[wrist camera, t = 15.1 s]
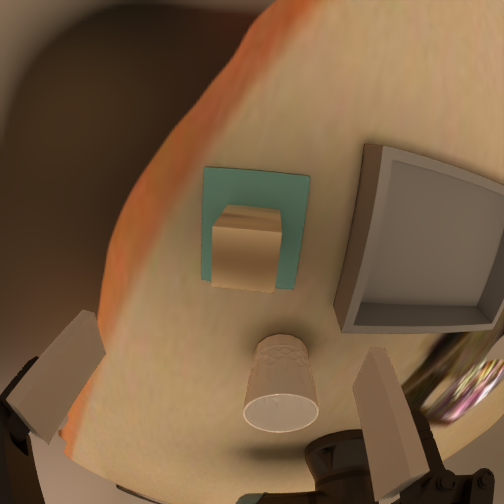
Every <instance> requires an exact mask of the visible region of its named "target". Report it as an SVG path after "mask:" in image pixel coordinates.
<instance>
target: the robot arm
mask: <svg viewBox="0 0 504 504" xmlns="http://www.w3.org/2000/svg"><path fill="white" fill-rule="evenodd" d="M105 354H106V352H105V349H104V346H103V343H102V339H101V336H100V332H99V329H98V325H97V321H96V318H95V314H94V313H92V312H89V311H85V310H82V311H81V312H80V313H79V314H78V315H77V317H76V318H75V319H74V320H73V321H72V322H71V323H70V324H69V325H68V326H67V327H66V328H65V329H64V330H63V331H62V333H61V334H60V335H59V336H58V337H57V338H56V339H55V340H54V341H53V343H52V344H51V345H50V346H49V347H48V348H47V349H46V351H45V352H44V353H43V354H42V355H41V356H40V357H37V356H36V357H34V358H33V359H31V360H29V361H28V362H27V363H26V364H25V365H24V367H23V368H22V370H20V371H19V373H18V374H17V376H16V377H14V379H13V380H12V381H11V382H10V384H9V385H8V386H7V387H6V389H5V390H4V391H3V392H2V394H1V395H0V504H45V501H44V498H43V494H42V491H41V487H40V483H39V480H38V475H37V471H36V467H35V462H34V457H33V451H32V445H31V439H30V436H29V434H28V433H29V432H30V431H31V432H32V433H33V434H34V436H35V437H36V438H38V439H39V440H41V441H42V442H44V443H46V444H47V445H49V443H50V441H51V439H52V437H53V436H54V434H55V432H56V431H57V429H58V427H59V425H60V424H61V422H62V421H63V419H64V417H65V416H66V414H67V412H68V411H69V409H70V408H71V406H72V404H73V403H74V401H75V400H76V398H77V397H78V395H79V393H80V392H81V390H82V389H83V387H84V386H85V384H86V383H87V381H88V380H89V378H90V377H91V375H92V374H93V372H94V371H95V369H96V368H97V366H98V365H99V363H100V362H101V360H102V359H103V357H104V356H105ZM353 392H354V396H355V400H356V404H357V409H358V413H359V417H360V422H361V427H362V430H352V431H344V432H339V433H335V434H331V435H328V436H325V437H322V438H320V439H318V440H316V441H314V442H312V443H311V444H309V445H308V446H307V447H306V449H305V460H306V463H307V465H308V467H309V470H310V472H311V474H312V476H313V478H314V480H315V491H311V492H297V493H267V492H264V493H249V494H245V495H243V496H241V497H240V498H239V499H238V501H237V502H236V504H379V501H380V500H385V499H389V498H392V497H394V496H396V495H397V494H398V493H400V498H399V499H398V500H396V501H395V502H393V503H391V504H492V503H493V494H494V483H495V480H494V475H493V473H492V472H491V471H490V470H489V469H487V468H482V469H480V470H478V471H477V472H475V473H474V474H473V475H455V474H454V473H453V472H451V471H450V470H446V469H445V468H444V465H443V463H442V460H441V457H440V454H439V451H438V448H437V445H436V442H435V439H434V438H433V434H432V431H430V429H431V428H430V426H429V423H428V421H427V418H426V417H425V416H424V415H423V414H422V413H421V412H420V410H419V411H413V412H410V409H409V407H408V404H407V401H406V399H405V396H404V394H403V391H402V388H401V386H400V383H399V381H398V379H397V376H396V374H395V371H394V369H393V366H392V364H391V362H390V359H389V357H388V355H387V352H386V350H385V348H370V349H369V352H368V354H367V356H366V359H365V361H364V363H363V365H362V368H361V370H360V372H359V374H358V376H357V378H356V380H355V382H354V385H353Z"/></svg>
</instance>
